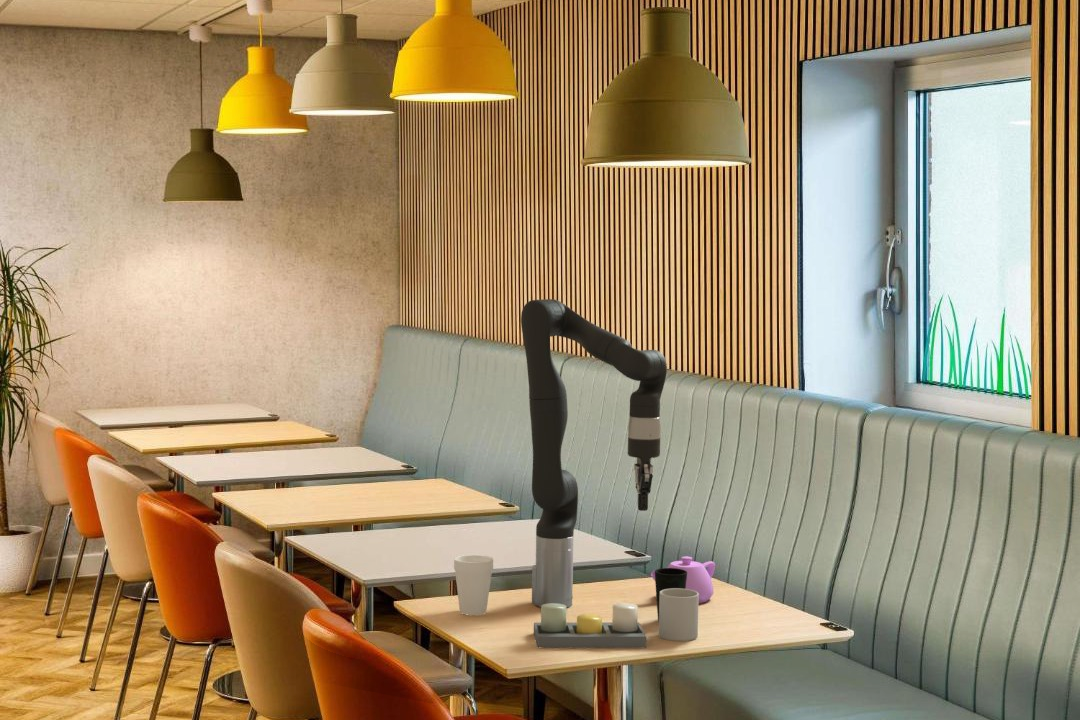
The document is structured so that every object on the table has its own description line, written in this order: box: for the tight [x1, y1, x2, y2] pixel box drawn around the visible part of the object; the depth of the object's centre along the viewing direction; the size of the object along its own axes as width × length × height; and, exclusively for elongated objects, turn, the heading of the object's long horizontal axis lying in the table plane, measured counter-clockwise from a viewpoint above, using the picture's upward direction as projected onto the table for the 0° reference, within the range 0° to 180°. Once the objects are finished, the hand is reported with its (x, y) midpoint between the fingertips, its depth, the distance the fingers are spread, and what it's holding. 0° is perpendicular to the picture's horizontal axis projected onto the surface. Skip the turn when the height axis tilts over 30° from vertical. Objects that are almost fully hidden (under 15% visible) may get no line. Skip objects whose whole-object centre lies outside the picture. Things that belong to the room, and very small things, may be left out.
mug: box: [658, 588, 700, 642], centre depth 311 cm, size 11×10×10 cm
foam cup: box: [453, 554, 494, 616], centre depth 329 cm, size 10×9×13 cm
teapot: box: [650, 555, 716, 604], centre depth 346 cm, size 14×20×11 cm
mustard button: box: [576, 613, 603, 634], centre depth 305 cm, size 6×6×5 cm
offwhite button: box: [612, 602, 639, 632], centre depth 306 cm, size 6×6×5 cm
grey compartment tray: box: [533, 621, 647, 649], centre depth 305 cm, size 24×12×2 cm, turn 94°
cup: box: [654, 567, 687, 623], centre depth 323 cm, size 8×8×12 cm
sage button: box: [540, 603, 567, 632], centre depth 305 cm, size 6×6×5 cm
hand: (642, 509), depth 319 cm, fingers closed
